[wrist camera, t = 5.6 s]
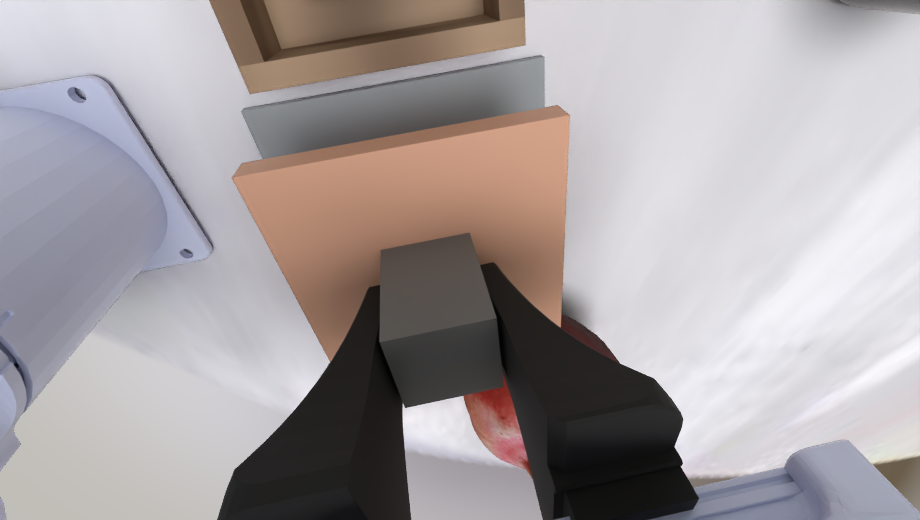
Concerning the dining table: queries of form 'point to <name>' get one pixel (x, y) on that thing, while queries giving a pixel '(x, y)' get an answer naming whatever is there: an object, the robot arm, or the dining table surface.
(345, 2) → the box
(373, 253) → the lid
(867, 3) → the supplement bottle
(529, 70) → the mat
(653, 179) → the dining table surface
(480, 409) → the fruit
